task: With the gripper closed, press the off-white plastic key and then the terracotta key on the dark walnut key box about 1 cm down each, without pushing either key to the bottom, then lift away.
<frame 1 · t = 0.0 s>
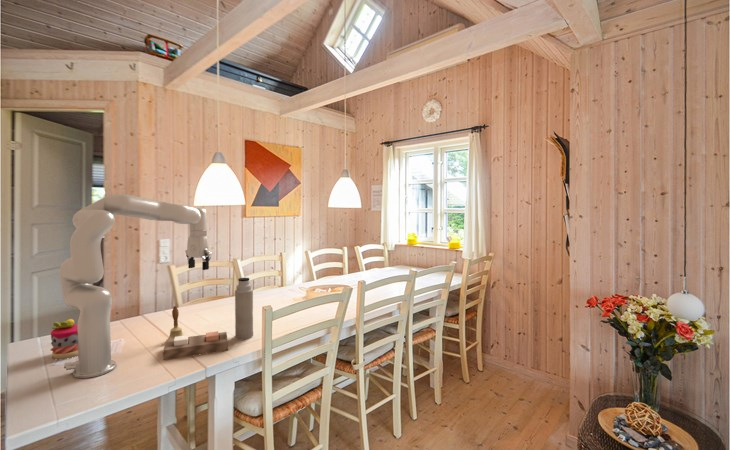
hand: (198, 268, 167), 31 cm above the table, tool pointing down, fingers open, 9 cm apart
thermos bottle: (244, 336, 163), on the table
cake: (68, 355, 141), on the table
terracotta key: (212, 337, 150), point 4 cm above the table, slide at 0.0 cm
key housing: (197, 349, 148), on the table
hand bell: (176, 340, 158), on the table
white key: (181, 341, 145), point 5 cm above the table, slide at 0.0 cm
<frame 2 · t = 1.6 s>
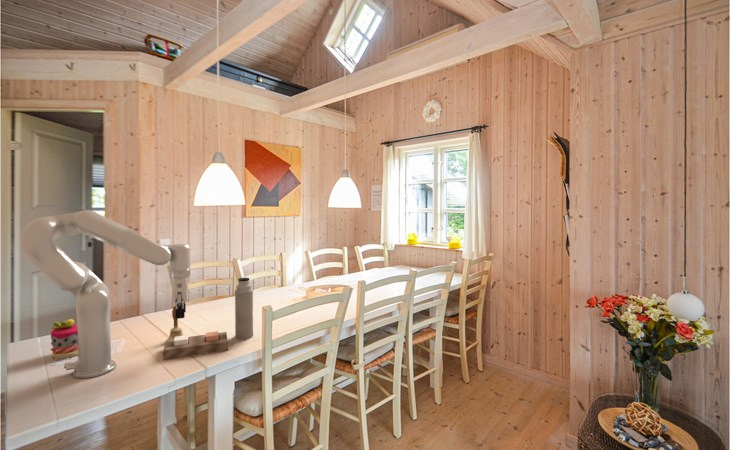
hand: (180, 315, 145), 16 cm above the table, tool pointing down, fingers open, 7 cm apart
nothing on the table moved.
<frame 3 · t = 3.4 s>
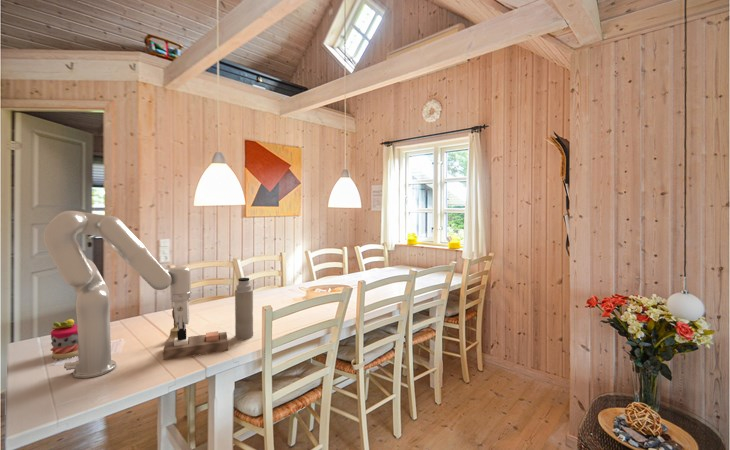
hand: (182, 339, 145), 5 cm above the table, tool pointing down, fingers closed
white key: (181, 342, 145), point 4 cm above the table, slide at 0.6 cm
everything else where it was.
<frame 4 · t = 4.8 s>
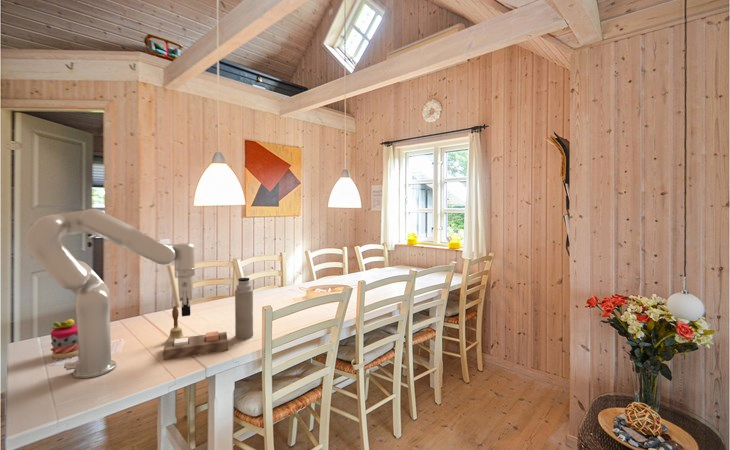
hand: (186, 315, 145), 15 cm above the table, tool pointing down, fingers closed
white key: (181, 343, 145), point 4 cm above the table, slide at 1.0 cm
everything else where it was.
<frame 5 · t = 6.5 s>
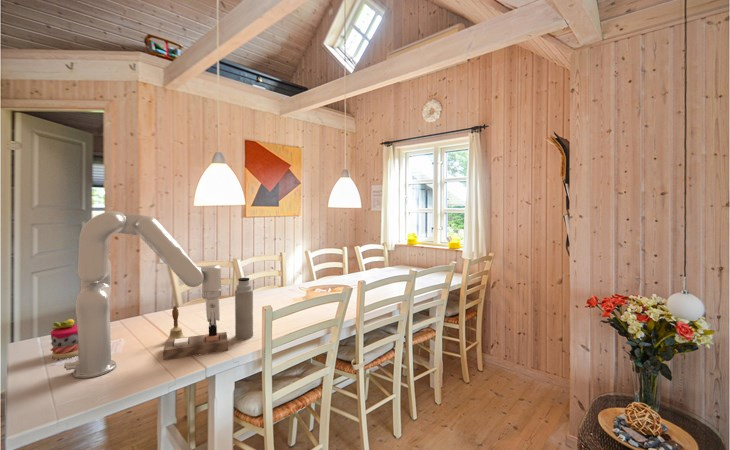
hand: (212, 335, 150), 5 cm above the table, tool pointing down, fingers closed
terracotta key: (212, 338, 150), point 4 cm above the table, slide at 0.6 cm, touching gripper
everything else where it was.
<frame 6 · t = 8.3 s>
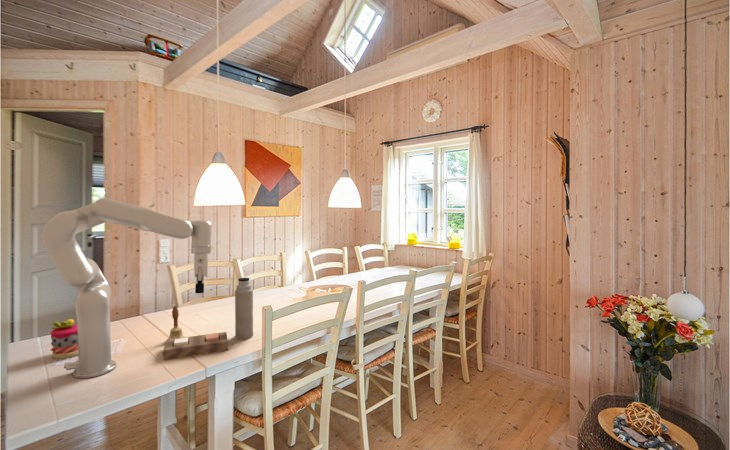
hand: (199, 292, 146), 25 cm above the table, tool pointing down, fingers closed
terracotta key: (212, 339, 150), point 4 cm above the table, slide at 1.0 cm
everything else where it was.
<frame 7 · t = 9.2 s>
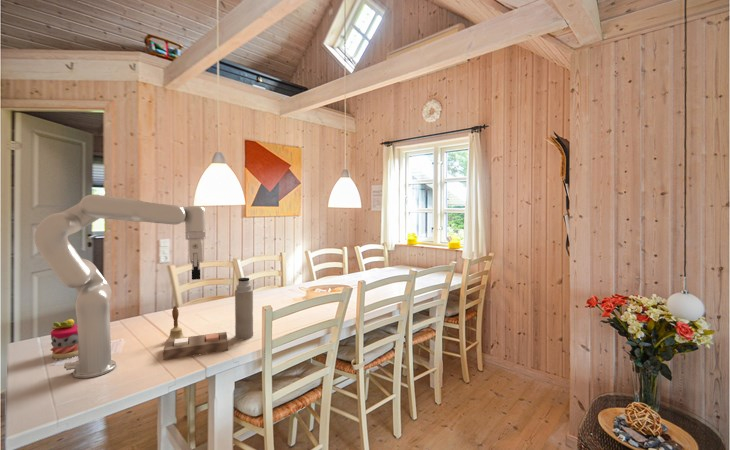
hand: (196, 279, 144), 31 cm above the table, tool pointing down, fingers closed
nothing on the table moved.
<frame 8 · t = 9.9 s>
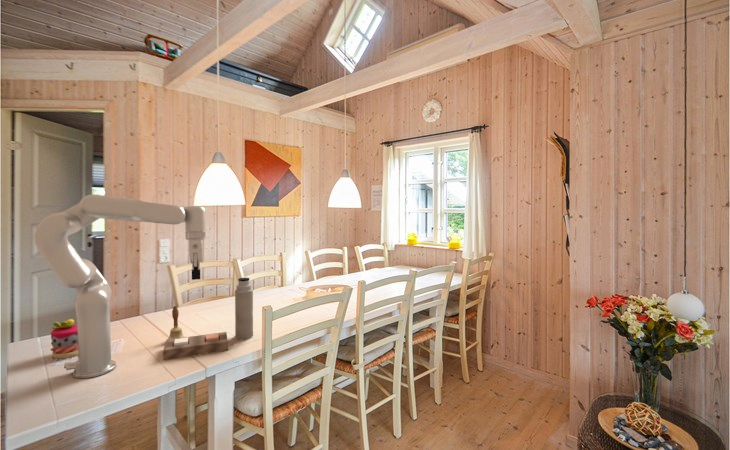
hand: (196, 279, 144), 31 cm above the table, tool pointing down, fingers closed
nothing on the table moved.
at the end: white key slide at 1.0 cm; terracotta key slide at 1.0 cm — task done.
